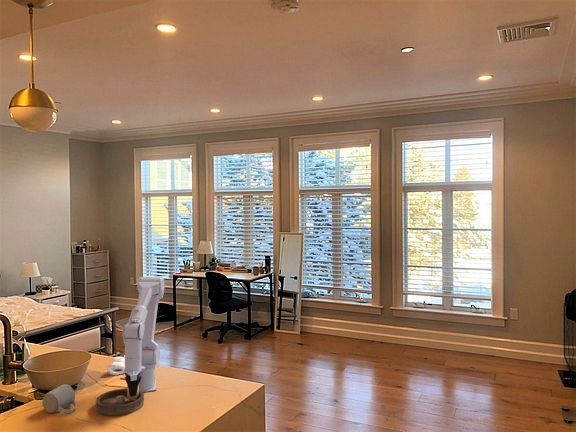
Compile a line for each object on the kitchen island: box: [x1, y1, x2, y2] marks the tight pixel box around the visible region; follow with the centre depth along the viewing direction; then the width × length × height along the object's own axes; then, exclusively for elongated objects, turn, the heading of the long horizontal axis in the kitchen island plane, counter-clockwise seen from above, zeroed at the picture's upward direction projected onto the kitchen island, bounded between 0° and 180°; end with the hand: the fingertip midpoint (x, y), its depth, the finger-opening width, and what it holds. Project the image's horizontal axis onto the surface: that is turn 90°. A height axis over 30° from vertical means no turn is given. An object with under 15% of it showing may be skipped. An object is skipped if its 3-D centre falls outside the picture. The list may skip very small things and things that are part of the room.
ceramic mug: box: [41, 383, 77, 414], centre depth 156 cm, size 11×8×8 cm
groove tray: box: [95, 388, 145, 417], centre depth 160 cm, size 16×16×3 cm
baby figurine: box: [106, 354, 125, 376], centre depth 195 cm, size 9×12×8 cm
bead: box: [126, 384, 139, 400], centre depth 161 cm, size 4×4×5 cm
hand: (132, 393), depth 161 cm, fingers closed on bead, 4 cm apart
